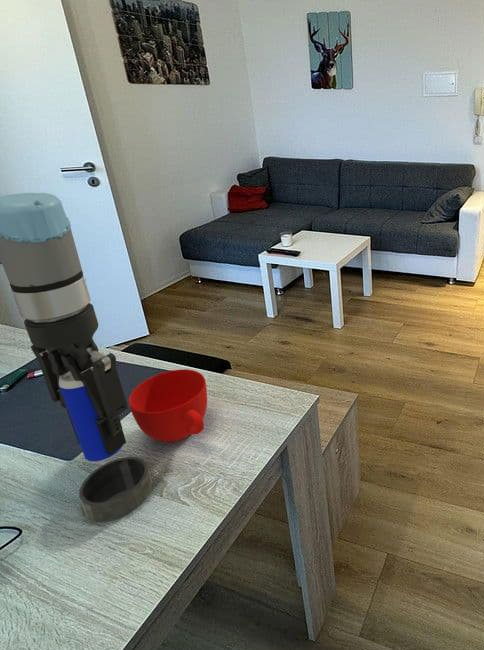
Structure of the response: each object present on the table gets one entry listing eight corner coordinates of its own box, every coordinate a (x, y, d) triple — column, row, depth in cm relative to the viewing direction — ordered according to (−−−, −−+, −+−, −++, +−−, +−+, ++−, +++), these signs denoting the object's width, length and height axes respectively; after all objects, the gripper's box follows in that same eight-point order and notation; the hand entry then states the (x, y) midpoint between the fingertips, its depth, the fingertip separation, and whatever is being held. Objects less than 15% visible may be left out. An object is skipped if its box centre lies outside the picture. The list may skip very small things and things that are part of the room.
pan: (71, 512, 69) (64, 494, 67) (124, 467, 77) (119, 450, 75) (115, 531, 66) (108, 513, 64) (165, 483, 74) (160, 465, 72)
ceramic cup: (172, 478, 75) (160, 434, 71) (128, 435, 84) (115, 393, 80) (238, 434, 84) (231, 393, 81) (192, 400, 94) (183, 361, 90)
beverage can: (113, 434, 71) (89, 357, 65) (131, 447, 68) (107, 368, 63) (78, 455, 67) (49, 375, 61) (96, 469, 64) (67, 387, 59)
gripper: (133, 309, 59) (167, 441, 67) (41, 288, 64) (84, 413, 73) (79, 336, 52) (124, 478, 61) (-19, 311, 58) (36, 445, 66)
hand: (102, 442), depth 67 cm, fingers closed on beverage can, 5 cm apart
